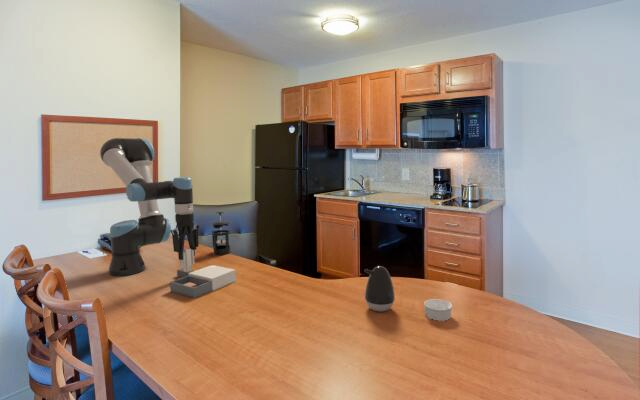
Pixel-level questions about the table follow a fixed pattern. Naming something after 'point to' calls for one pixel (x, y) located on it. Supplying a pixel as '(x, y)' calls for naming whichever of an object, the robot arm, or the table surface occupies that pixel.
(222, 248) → the french press
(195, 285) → the tile
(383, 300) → the pump dispenser
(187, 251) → the scraper
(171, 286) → the box
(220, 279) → the plate
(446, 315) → the ramekin
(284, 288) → the table surface
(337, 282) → the table surface
